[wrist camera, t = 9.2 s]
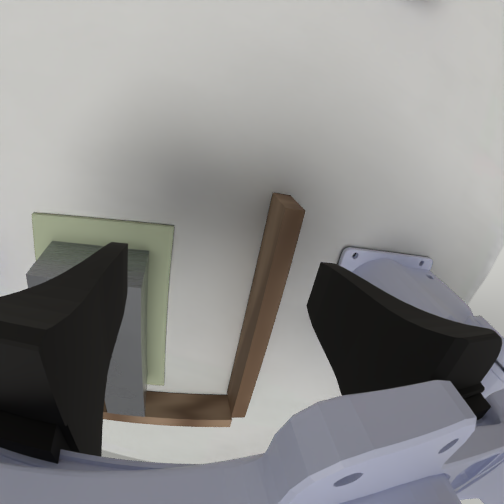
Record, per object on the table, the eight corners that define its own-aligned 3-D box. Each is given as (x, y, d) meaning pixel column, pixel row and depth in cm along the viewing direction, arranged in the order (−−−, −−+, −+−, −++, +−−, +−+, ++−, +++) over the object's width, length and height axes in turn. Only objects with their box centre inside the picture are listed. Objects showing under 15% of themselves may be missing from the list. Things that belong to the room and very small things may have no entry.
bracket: (147, 375, 25) (145, 417, 21) (71, 365, 24) (60, 405, 20) (149, 250, 20) (141, 288, 16) (52, 240, 19) (26, 274, 15)
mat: (174, 225, 20) (173, 227, 20) (164, 383, 26) (164, 385, 26) (33, 212, 18) (31, 214, 18) (59, 369, 24) (58, 372, 24)
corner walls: (290, 195, 21) (305, 210, 18) (236, 402, 29) (241, 426, 27) (-12, 168, 16) (-36, 179, 13) (30, 380, 24) (21, 402, 21)
